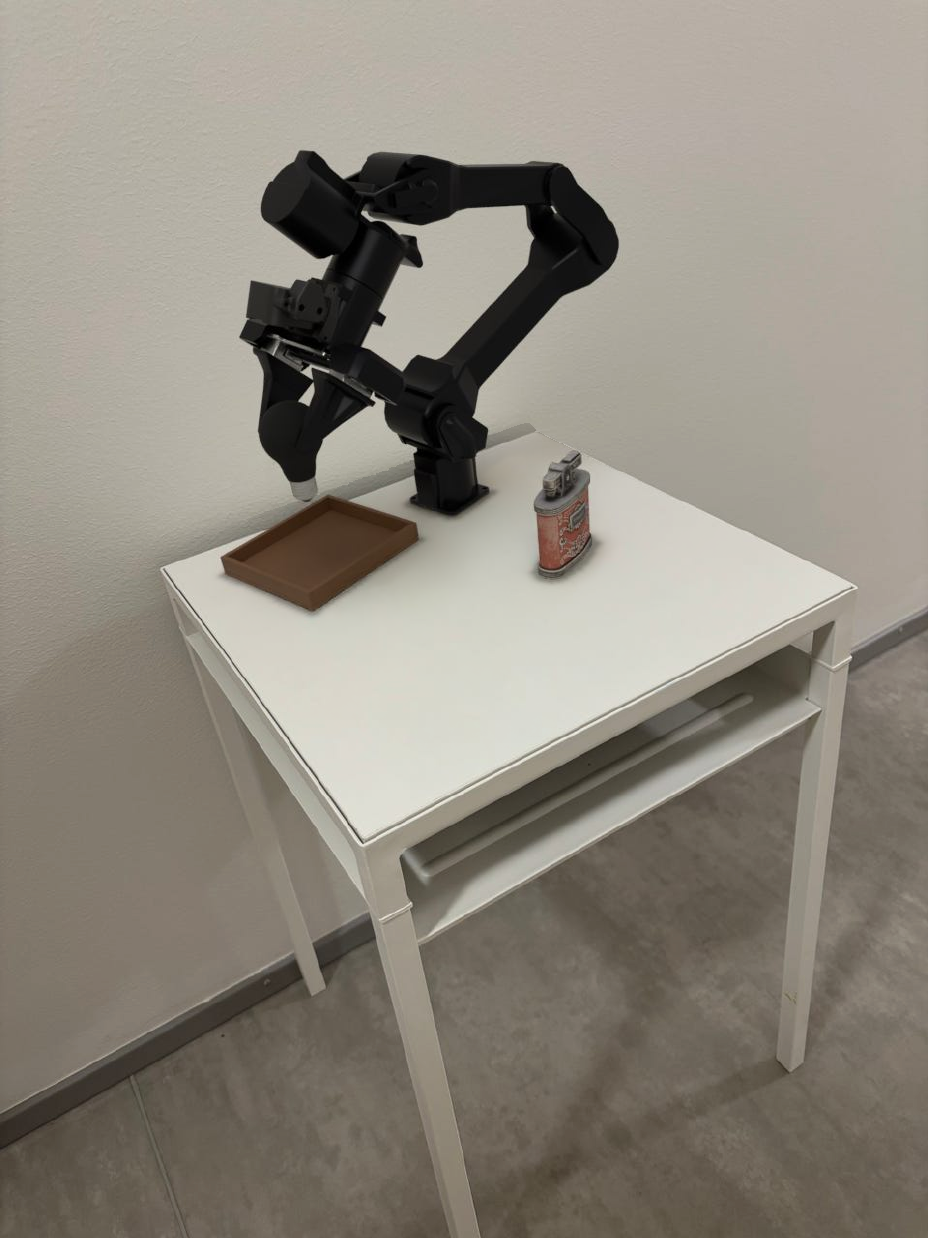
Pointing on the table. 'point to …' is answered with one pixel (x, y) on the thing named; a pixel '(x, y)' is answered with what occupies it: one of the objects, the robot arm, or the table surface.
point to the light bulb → (290, 446)
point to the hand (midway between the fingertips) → (280, 443)
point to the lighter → (563, 517)
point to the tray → (320, 551)
